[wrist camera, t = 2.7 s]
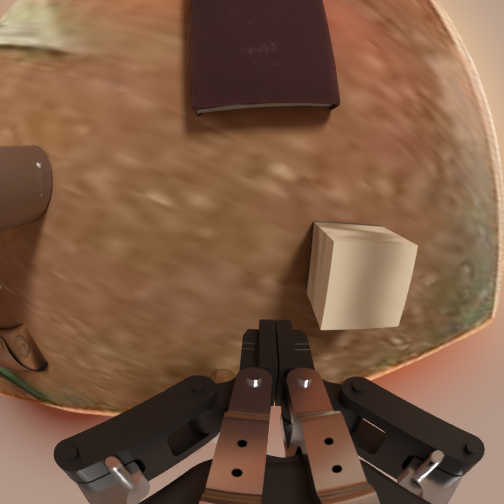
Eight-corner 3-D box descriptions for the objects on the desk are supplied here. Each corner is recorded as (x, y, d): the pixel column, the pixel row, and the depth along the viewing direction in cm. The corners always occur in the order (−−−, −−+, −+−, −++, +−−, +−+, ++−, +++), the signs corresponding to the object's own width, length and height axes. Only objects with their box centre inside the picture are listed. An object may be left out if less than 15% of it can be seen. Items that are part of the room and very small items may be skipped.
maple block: (306, 291, 26) (320, 330, 20) (313, 221, 24) (333, 241, 18) (369, 291, 26) (398, 326, 20) (381, 225, 24) (417, 246, 18)
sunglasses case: (23, 320, 29) (14, 358, 25) (52, 341, 34) (46, 377, 30) (-14, 326, 31) (-22, 355, 26) (9, 344, 36) (3, 371, 31)
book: (308, -30, 16) (312, -46, 13) (333, 111, 22) (343, 104, 19) (195, -25, 16) (189, -41, 13) (196, 117, 22) (188, 110, 19)
